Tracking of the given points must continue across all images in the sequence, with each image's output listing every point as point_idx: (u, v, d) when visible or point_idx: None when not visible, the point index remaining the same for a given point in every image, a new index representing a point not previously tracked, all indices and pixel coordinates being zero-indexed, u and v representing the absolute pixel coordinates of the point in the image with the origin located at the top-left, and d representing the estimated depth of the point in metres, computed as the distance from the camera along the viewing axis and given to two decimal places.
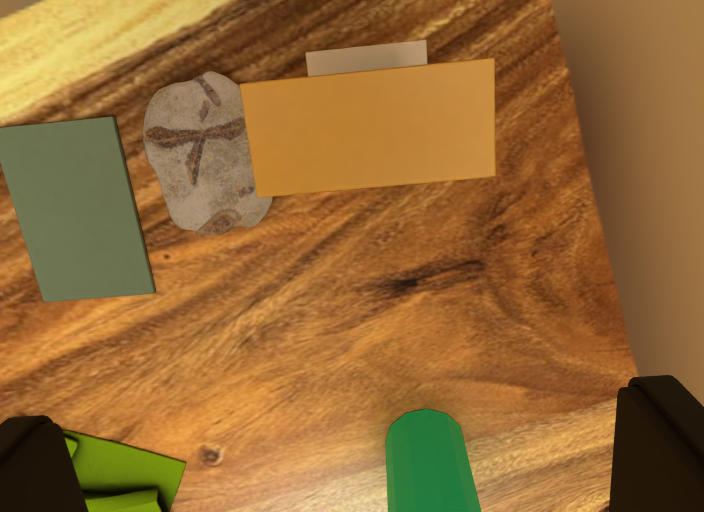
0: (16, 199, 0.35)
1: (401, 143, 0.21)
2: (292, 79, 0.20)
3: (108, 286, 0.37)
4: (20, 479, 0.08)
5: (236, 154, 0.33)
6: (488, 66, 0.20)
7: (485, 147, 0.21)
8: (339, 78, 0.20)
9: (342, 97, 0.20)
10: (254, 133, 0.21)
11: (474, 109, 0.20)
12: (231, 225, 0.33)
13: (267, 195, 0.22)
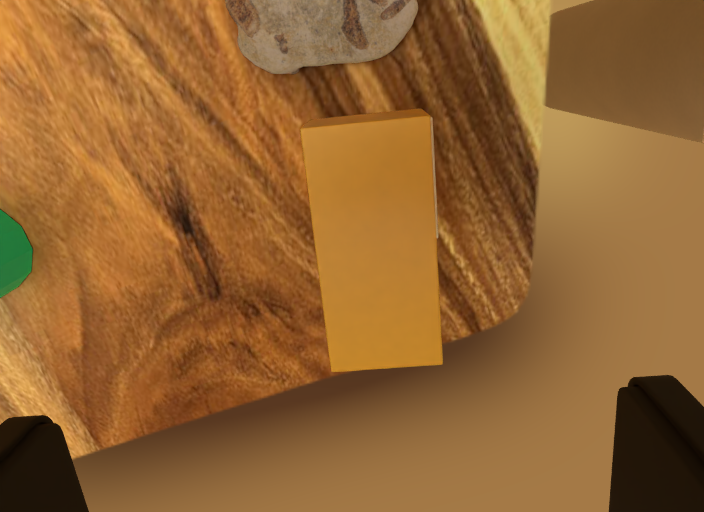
0: None
1: (364, 285, 0.20)
2: (432, 175, 0.19)
3: None
4: (20, 479, 0.08)
5: (325, 33, 0.28)
6: (435, 360, 0.21)
7: (359, 361, 0.21)
8: (431, 224, 0.19)
9: (412, 227, 0.19)
10: (375, 129, 0.18)
11: (396, 350, 0.21)
12: (239, 23, 0.27)
13: (303, 140, 0.18)
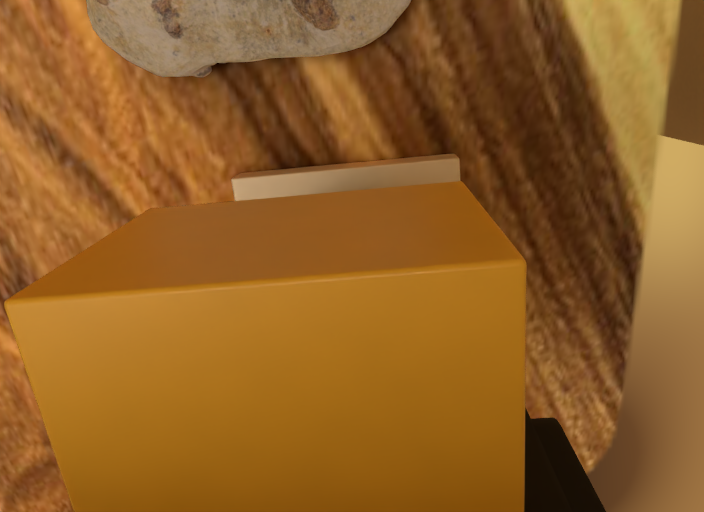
0: None
1: None
2: (521, 465, 0.05)
3: None
4: None
5: None
6: None
7: None
8: None
9: None
10: (300, 312, 0.04)
11: None
12: None
13: (23, 345, 0.05)
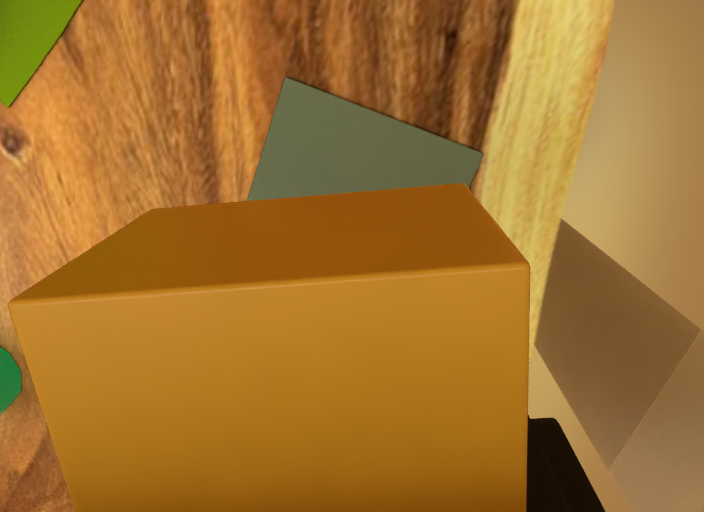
0: (407, 130, 0.30)
1: None
2: (523, 467, 0.05)
3: (272, 164, 0.31)
4: None
5: None
6: None
7: None
8: None
9: None
10: (304, 314, 0.04)
11: None
12: None
13: (26, 345, 0.05)
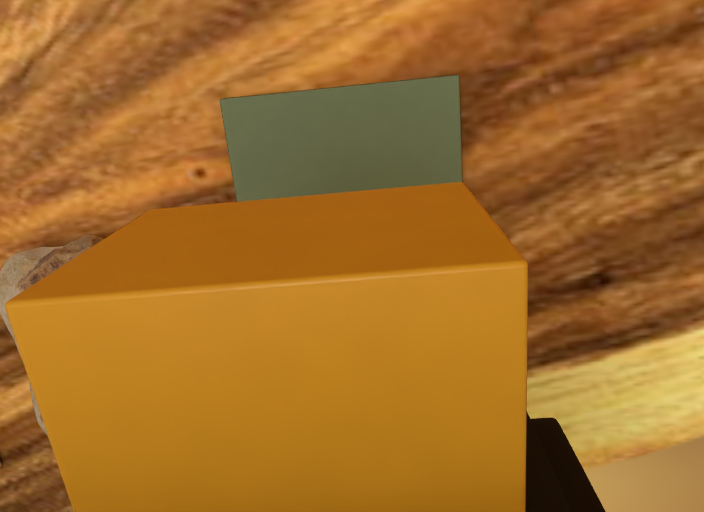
0: None
1: None
2: (522, 466, 0.05)
3: (313, 114, 0.18)
4: None
5: None
6: None
7: None
8: None
9: None
10: (301, 314, 0.04)
11: None
12: (31, 272, 0.18)
13: (23, 347, 0.05)
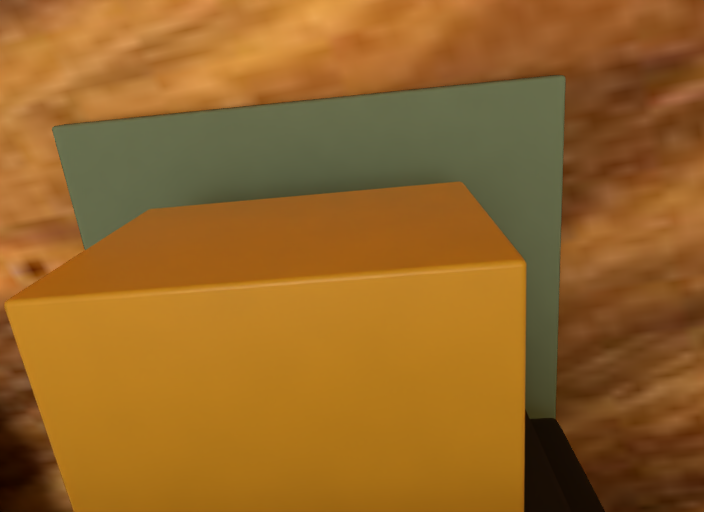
0: None
1: None
2: (521, 465, 0.05)
3: (251, 158, 0.09)
4: None
5: None
6: None
7: None
8: None
9: None
10: (300, 313, 0.04)
11: None
12: None
13: (23, 346, 0.05)
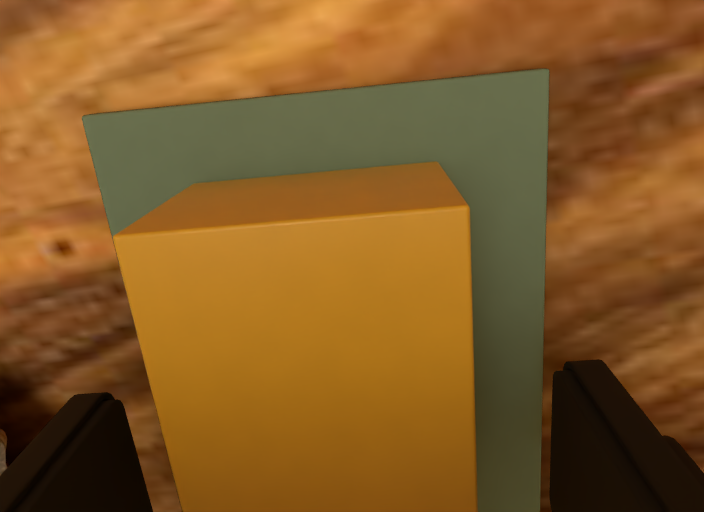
0: (526, 443, 0.11)
1: None
2: (470, 355, 0.07)
3: (263, 144, 0.09)
4: (92, 450, 0.08)
5: None
6: None
7: None
8: (466, 466, 0.08)
9: (416, 471, 0.08)
10: (316, 242, 0.07)
11: None
12: None
13: (124, 267, 0.07)
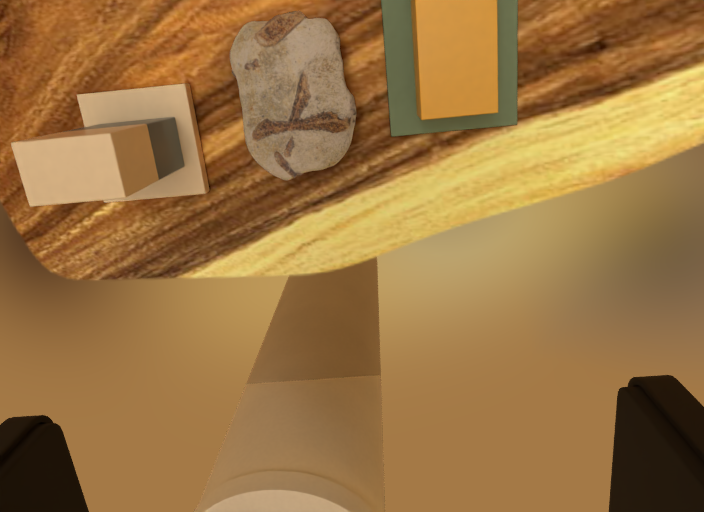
0: (512, 47, 0.33)
1: (447, 51, 0.30)
2: None
3: None
4: (20, 479, 0.08)
5: (262, 104, 0.33)
6: (493, 109, 0.31)
7: (441, 111, 0.31)
8: (494, 3, 0.29)
9: (481, 6, 0.29)
10: None
11: (467, 101, 0.31)
12: (264, 27, 0.31)
13: None
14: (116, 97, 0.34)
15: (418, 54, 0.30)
